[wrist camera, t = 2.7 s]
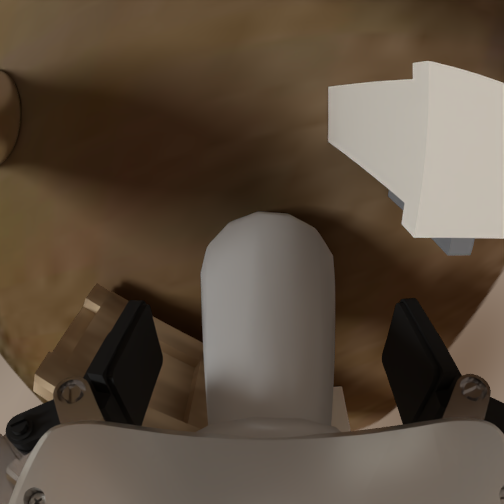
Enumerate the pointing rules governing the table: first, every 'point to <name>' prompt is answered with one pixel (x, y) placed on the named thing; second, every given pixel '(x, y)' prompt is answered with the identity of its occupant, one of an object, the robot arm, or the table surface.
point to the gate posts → (427, 155)
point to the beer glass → (8, 115)
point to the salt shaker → (268, 328)
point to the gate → (170, 377)
